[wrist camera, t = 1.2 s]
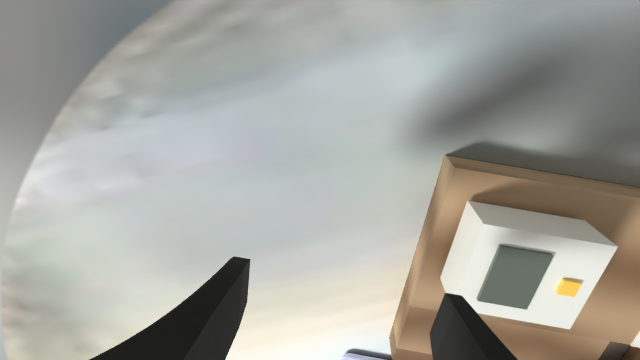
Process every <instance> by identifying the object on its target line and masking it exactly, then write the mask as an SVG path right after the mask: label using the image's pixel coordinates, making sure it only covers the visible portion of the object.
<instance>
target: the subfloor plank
mask: <svg viewBox="0 0 640 360" xmlns="http://www.w3.org/2000/svg"><path fill="white" fill-rule="evenodd" d="M467 201H473V202H479V203H485V204H491V205H497V206H503V207H509V208H515V209H521V210H527V211H532V212H538V213H544V214H550V215H556V216H562V217H568V218H574V219H580V220H585V221H586V222H587V223H589V224H590V225H591V226H593V227H594V228H595V229H596V230H598V231H599V232H600V233H601V234H603V235H604V236H605V237H606V238H608V239H609V240H610V241H611V242H613V243H614V244H615V245H616V246H618V248H617V249H616V251H615V253H614V255H613V256H612V258H611V260H610V261H609V263H608V265H607V267H606V268H605V270H604V272H603V273H602V275H601V277H600V279H599V280H598V282H597V284H596V286H595V287H594V289H593V291H592V292H591V294H590V296H589V298H588V299H587V301H586V303H585V304H584V306H583V308H582V310H581V311H580V313H579V315H578V316H577V318H576V320H575V322H574V323H573V325H572V327H571V328H570V329H564V328H558V327H553V326H547V325H541V324H536V323H530V322H524V321H519V320H513V319H507V318H502V317H496V316H490V315H485V314H479V313H477V314H478V315H479V316H480V317H481V318H482V320H483V321H484V322H485V323H486V324H487V326H488V327H489V328H490V329H491V330H492V331H493V333H494V334H495V335H496V336H497V337H498V338H499V339H500V341H501V342H502V343H503V344H504V345H505V346H506V347H507V348H508V349H509V351H510V352H511V353H512V354H513V355H514V356H515V357H516V358H517V359H518V360H598V359H599V358H600V356H601V355H602V353H603V352H604V350H605V349H606V347H607V346H608V344H609V342H610V341H611V342H617V343H622V344H628V345H631V347H630V348H629V349H628V351H627V352H626V354H625V355H624V357H623V358H622V359H621V360H640V187H635V186H628V185H622V184H616V183H610V182H604V181H598V180H592V179H586V178H580V177H574V176H568V175H562V174H556V173H550V172H544V171H538V170H532V169H526V168H520V167H514V166H508V165H501V164H495V163H489V162H483V161H477V160H471V159H465V158H459V157H453V156H447V155H445V157H444V160H443V163H442V166H441V170H440V173H439V176H438V179H437V183H436V186H435V189H434V193H433V196H432V199H431V202H430V206H429V209H428V212H427V215H426V219H425V222H424V225H423V229H422V232H421V235H420V238H419V242H418V245H417V248H416V251H415V255H414V258H413V261H412V265H411V268H410V271H409V274H408V278H407V281H406V284H405V287H404V291H403V294H402V297H401V301H400V304H399V307H398V310H397V314H396V317H395V320H394V323H393V327H392V330H391V333H390V337H389V338H390V346H391V354H392V360H433V357H432V350H431V342H430V331H431V328H432V325H433V323H434V320H435V318H436V315H437V312H438V310H439V307H440V305H441V302H442V299H443V297H444V294H445V290H444V287H443V285H442V282H441V279H440V277H441V274H442V271H443V268H444V266H445V263H446V260H447V257H448V254H449V251H450V249H451V246H452V243H453V240H454V237H455V234H456V232H457V229H458V226H459V223H460V220H461V217H462V214H463V212H464V209H465V206H466V203H467Z"/></svg>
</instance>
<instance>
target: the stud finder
mask: <svg viewBox="0 0 640 360" xmlns="http://www.w3.org/2000/svg"><path fill="white" fill-rule="evenodd" d="M617 248H618V246H616V245H615V244H614V243H613V242H611V241H610V240H609V239H608V238H606V237H605V236H604V235H603V234H601V233H600V232H599V231H598V230H596V229H595V228H594V227H593V226H591V225H590V224H589V223H587V222H586V221H585V220H580V219H574V218H568V217H562V216H556V215H550V214H544V213H538V212H532V211H527V210H521V209H515V208H509V207H503V206H497V205H491V204H485V203H479V202H473V201H467V203H466V206H465V209H464V212H463V214H462V217H461V220H460V223H459V226H458V229H457V232H456V234H455V237H454V240H453V243H452V246H451V249H450V251H449V254H448V257H447V260H446V263H445V266H444V268H443V271H442V274H441V277H440V279H441V282H442V285H443V287H444V290H445V293H450V294H456V295H461V296H463V297H464V299H465V300H466V301H467V302H468V303H469V304H470V305H471V307H472V308H473V309H474V310H475V311H476V312H477V313H479V314H485V315H490V316H496V317H502V318H507V319H513V320H519V321H524V322H530V323H536V324H541V325H547V326H553V327H558V328H564V329H570V328H571V327H572V325H573V323H574V322H575V320H576V318H577V316H578V315H579V313H580V311H581V310H582V308H583V306H584V304H585V303H586V301H587V299H588V298H589V296H590V294H591V292H592V291H593V289H594V287H595V286H596V284H597V282H598V280H599V279H600V277H601V275H602V273H603V272H604V270H605V268H606V267H607V265H608V263H609V261H610V260H611V258H612V256H613V255H614V253H615V251H616V249H617Z"/></svg>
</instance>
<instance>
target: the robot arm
mask: <svg viewBox="0 0 640 360" xmlns="http://www.w3.org/2000/svg"><path fill="white" fill-rule="evenodd" d="M249 268H250V259H246V258H240V257H232V258H231V259H230V260H229V261H228V262H227V263H226V264H225V265H224V266H223V267H222V268H221V269H220V270H219V271H218V272H217V273H216V274H214V275H213V276H212V277H211V278H210V279H209V280H208V281H207V282H206V283H205V284H203V285H202V286H201V287H200V288H199V289H198V290H197V291H195V292H194V293H193V294H192V295H191V296H189V297H188V298H187V299H186V300H184V301H183V302H182V303H181V304H179V305H178V306H177V307H176V308H174V309H173V310H172V311H170V312H169V313H167V314H166V315H165V316H163V317H162V318H160V319H159V320H157V321H156V322H155V323H153V324H152V325H150V326H149V327H147V328H145V329H144V330H142V331H141V332H139V333H137V334H136V335H134V336H132V337H131V338H129V339H127V340H126V341H124V342H122V343H121V344H119V345H117V346H115V347H113V348H111V349H109V350H108V351H106V352H104V353H102V354H100V355H98V356H96V357H94V358H92V359H90V360H225V358H226V356H227V354H228V352H229V349H230V347H231V345H232V342H233V340H234V338H235V336H236V333H237V331H238V329H239V326H240V323H241V320H242V316H243V313H244V310H245V307H246V303H247V295H248V282H249ZM430 342H431V350H432V357H433V360H518V359H517V358H516V357H515V356H514V355H513V354H512V353H511V352H510V351H509V349H508V348H507V347H506V346H505V345H504V344H503V343H502V342H501V341H500V339H499V338H498V337H497V336H496V335H495V334H494V333H493V331H492V330H491V329H490V328H489V327H488V326H487V324H486V323H485V322H484V321H483V320H482V318H481V317H480V316H479V315H478V314H477V312H476V311H475V310H474V309H473V308H472V307H471V305H470V304H469V303H468V302H467V301H466V300H465V299H464V297H463V296H461V295H456V294H450V293H445V294H444V297H443V299H442V302H441V305H440V307H439V310H438V312H437V315H436V318H435V320H434V323H433V325H432V328H431V331H430ZM342 360H385V359H380V358H374V357H369V356H363V355H357V354H352V353H346V354H344V355H343V357H342Z"/></svg>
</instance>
